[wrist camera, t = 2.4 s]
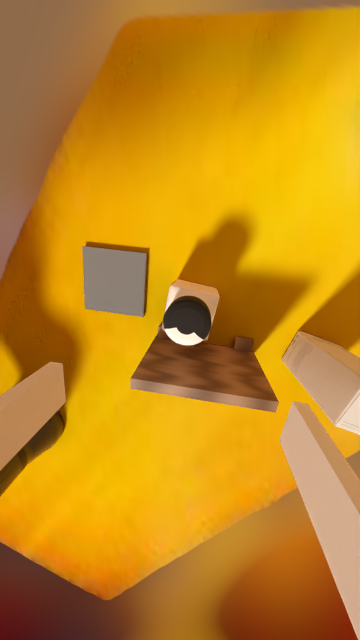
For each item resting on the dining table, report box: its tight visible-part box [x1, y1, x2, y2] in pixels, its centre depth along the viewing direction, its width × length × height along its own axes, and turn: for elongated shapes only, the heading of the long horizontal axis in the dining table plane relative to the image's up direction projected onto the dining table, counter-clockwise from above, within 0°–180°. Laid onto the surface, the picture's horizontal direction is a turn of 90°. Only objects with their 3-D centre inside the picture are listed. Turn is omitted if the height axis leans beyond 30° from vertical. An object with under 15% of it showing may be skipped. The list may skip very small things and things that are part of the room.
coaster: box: [83, 246, 147, 317], centre depth 36 cm, size 11×11×1 cm
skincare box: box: [282, 331, 360, 435], centre depth 29 cm, size 8×7×16 cm
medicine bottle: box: [162, 279, 220, 345], centre depth 30 cm, size 7×7×12 cm
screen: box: [131, 326, 279, 412], centre depth 32 cm, size 18×6×14 cm, turn 84°
